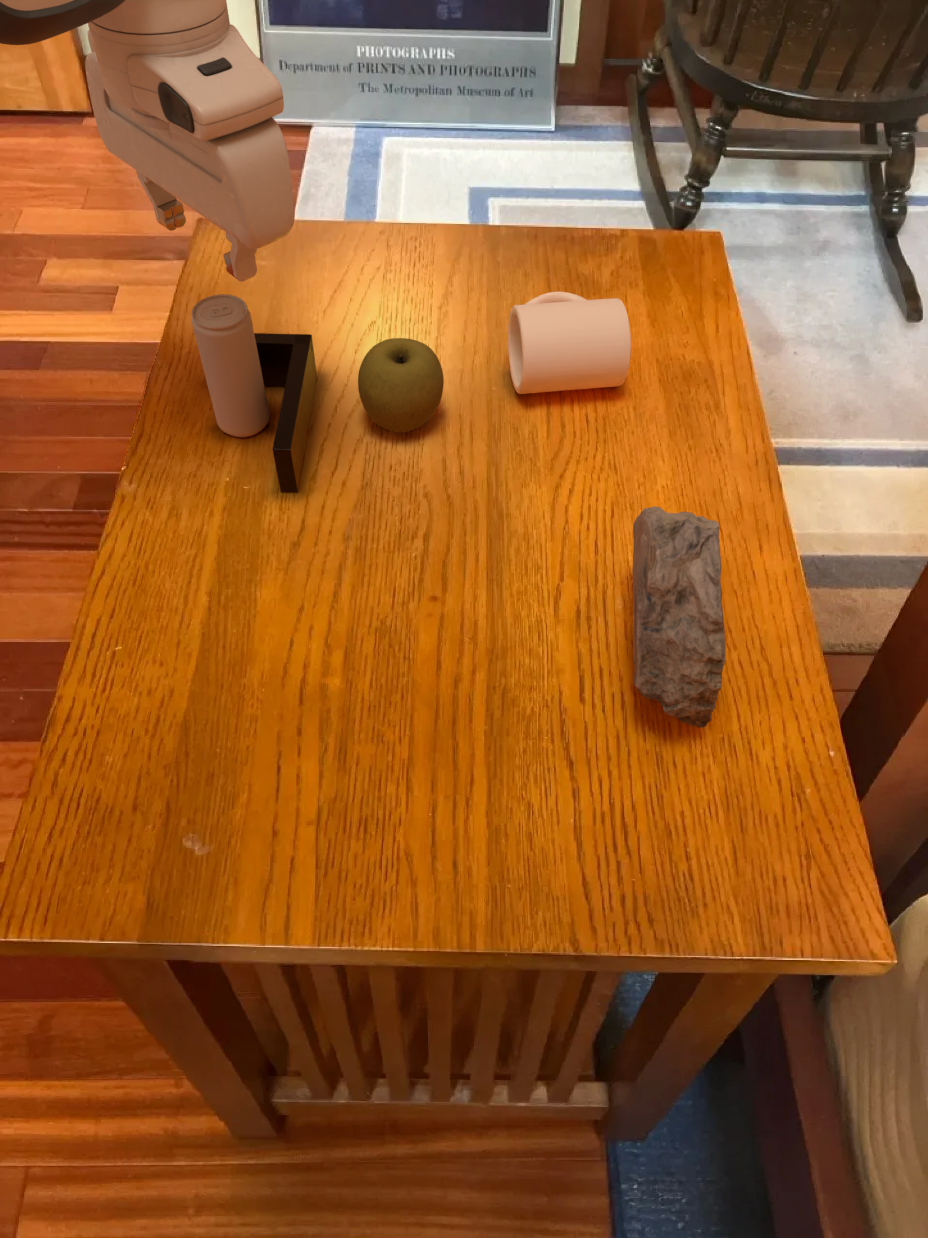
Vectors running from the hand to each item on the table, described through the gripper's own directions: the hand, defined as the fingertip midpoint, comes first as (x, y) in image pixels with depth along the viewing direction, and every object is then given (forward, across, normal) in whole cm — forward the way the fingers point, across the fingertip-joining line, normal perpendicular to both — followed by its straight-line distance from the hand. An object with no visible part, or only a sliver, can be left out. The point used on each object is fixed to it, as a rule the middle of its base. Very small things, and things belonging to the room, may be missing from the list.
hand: (206, 249), depth 72 cm
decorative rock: (+17, +43, +8) cm, 47 cm away
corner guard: (+17, +2, 0) cm, 17 cm away
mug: (+17, +15, +27) cm, 35 cm away
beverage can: (+17, 0, 0) cm, 17 cm away
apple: (+17, +10, +11) cm, 23 cm away
